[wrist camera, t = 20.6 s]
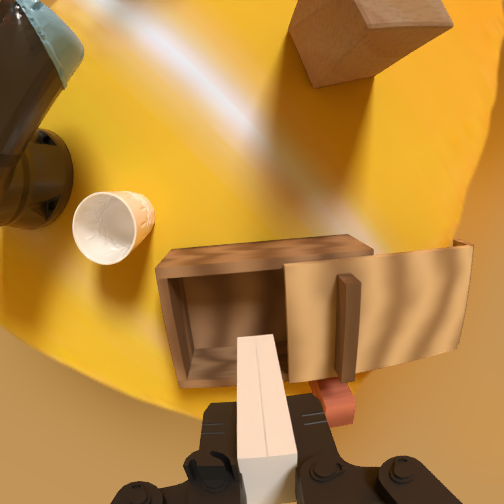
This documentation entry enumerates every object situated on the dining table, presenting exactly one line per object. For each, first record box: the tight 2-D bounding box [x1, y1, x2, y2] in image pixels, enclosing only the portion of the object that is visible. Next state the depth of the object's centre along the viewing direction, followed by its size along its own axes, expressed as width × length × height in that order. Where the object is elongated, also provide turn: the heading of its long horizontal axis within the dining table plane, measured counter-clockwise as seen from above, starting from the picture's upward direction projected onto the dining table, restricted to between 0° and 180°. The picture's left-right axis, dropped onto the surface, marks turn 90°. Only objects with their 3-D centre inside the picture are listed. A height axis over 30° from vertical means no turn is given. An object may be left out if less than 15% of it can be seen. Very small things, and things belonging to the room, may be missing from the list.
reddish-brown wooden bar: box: [309, 377, 356, 428], centre depth 41 cm, size 4×4×12 cm
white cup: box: [72, 191, 155, 265], centre depth 36 cm, size 8×8×10 cm
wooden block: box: [288, 0, 453, 88], centre depth 26 cm, size 10×10×20 cm
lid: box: [284, 239, 474, 383], centre depth 35 cm, size 26×15×8 cm, turn 95°
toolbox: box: [155, 234, 374, 388], centre depth 40 cm, size 24×16×9 cm, turn 95°
